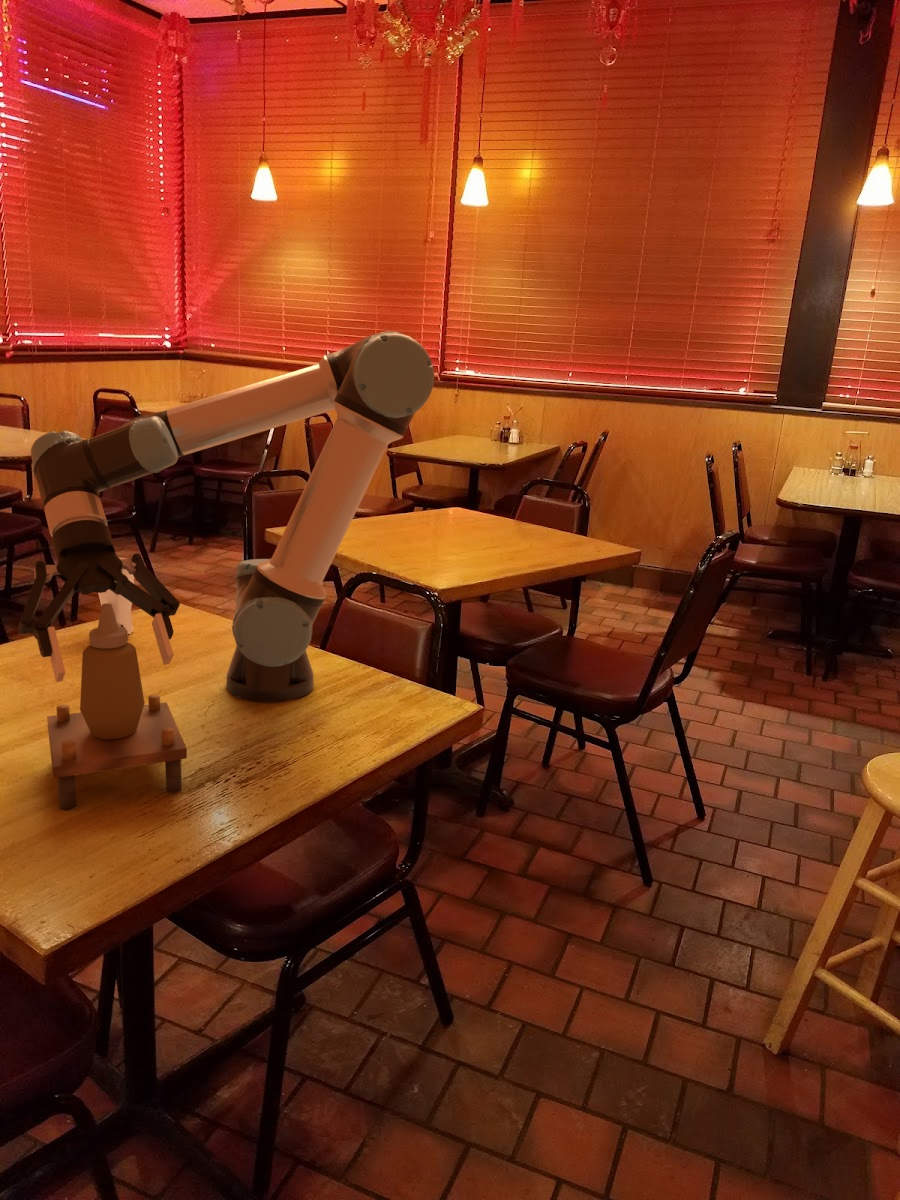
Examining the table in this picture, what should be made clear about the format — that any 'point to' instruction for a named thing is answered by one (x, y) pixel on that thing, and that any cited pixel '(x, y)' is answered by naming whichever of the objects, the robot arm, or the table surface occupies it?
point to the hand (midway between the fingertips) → (116, 668)
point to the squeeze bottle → (110, 680)
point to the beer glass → (120, 604)
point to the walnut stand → (113, 748)
